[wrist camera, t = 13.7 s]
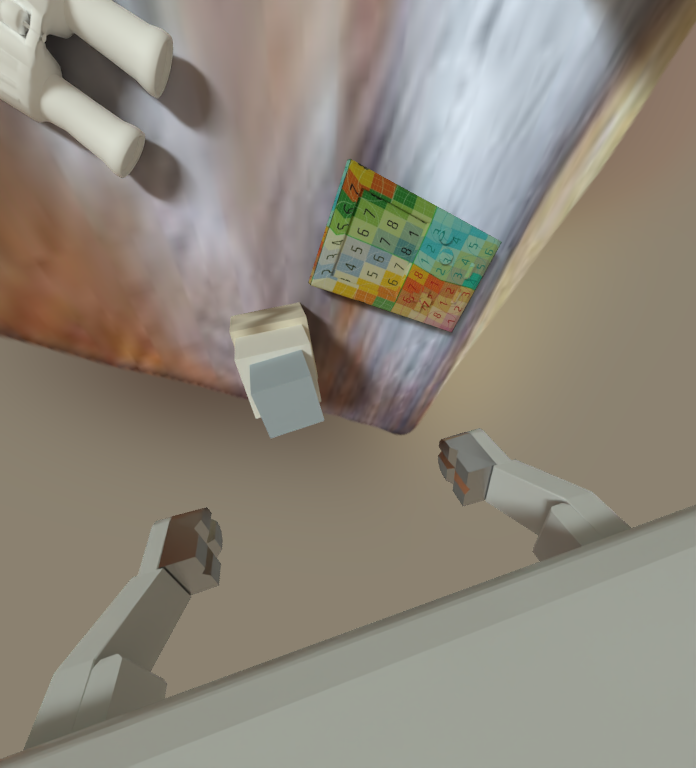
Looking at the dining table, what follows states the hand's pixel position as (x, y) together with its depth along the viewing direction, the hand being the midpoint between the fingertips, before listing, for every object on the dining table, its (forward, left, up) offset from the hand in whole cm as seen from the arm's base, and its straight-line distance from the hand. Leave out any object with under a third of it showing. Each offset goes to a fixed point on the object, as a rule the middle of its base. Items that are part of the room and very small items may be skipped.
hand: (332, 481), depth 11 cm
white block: (+2, +8, -25) cm, 26 cm away
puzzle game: (-15, 0, -30) cm, 34 cm away
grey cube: (+1, +7, -20) cm, 21 cm away
